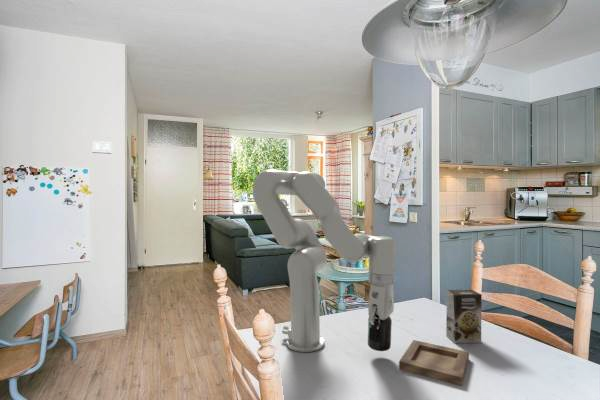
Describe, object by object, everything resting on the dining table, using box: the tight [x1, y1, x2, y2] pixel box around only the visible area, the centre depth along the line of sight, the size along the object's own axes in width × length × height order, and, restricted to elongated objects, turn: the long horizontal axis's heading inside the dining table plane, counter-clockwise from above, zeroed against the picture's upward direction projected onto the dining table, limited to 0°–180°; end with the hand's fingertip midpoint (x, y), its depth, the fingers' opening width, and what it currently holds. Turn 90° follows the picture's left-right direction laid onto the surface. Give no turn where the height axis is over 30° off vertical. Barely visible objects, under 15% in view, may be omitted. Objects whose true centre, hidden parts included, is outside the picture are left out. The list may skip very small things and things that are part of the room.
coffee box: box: [445, 289, 483, 344], centre depth 113 cm, size 9×6×16 cm
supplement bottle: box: [367, 315, 393, 352], centre depth 102 cm, size 7×7×12 cm
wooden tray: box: [398, 339, 470, 387], centre depth 98 cm, size 16×16×2 cm
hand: (379, 335), depth 102 cm, fingers closed on supplement bottle, 6 cm apart
